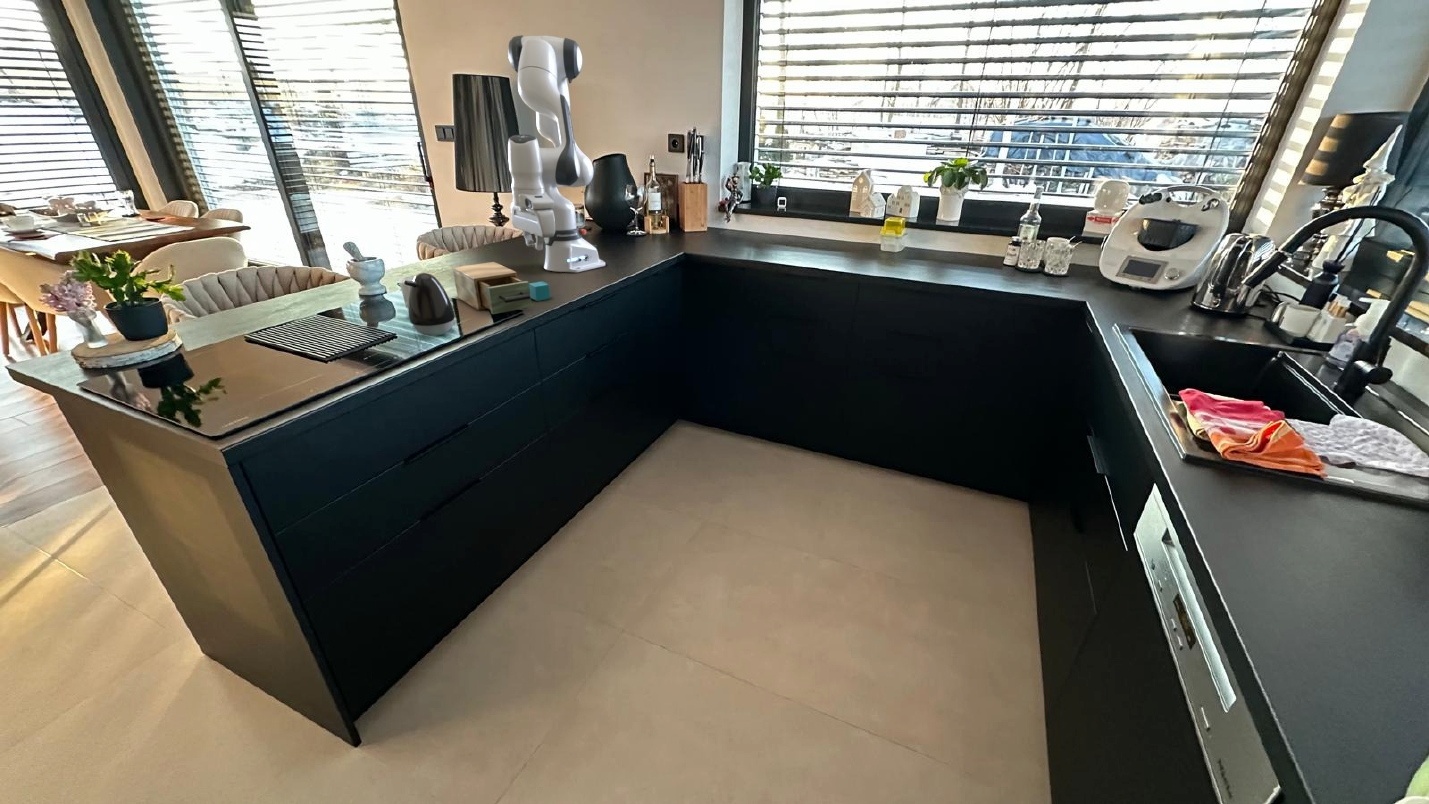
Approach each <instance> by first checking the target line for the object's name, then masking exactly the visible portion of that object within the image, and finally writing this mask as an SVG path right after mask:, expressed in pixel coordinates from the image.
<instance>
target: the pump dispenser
mask: <svg viewBox="0 0 1429 804" xmlns="http://www.w3.org/2000/svg"><path fill="white" fill-rule="evenodd" d="M404 284H405V285H408V286H411V288H410V293H409V313H408V318H409V322H410V323H411V324H412V326H413V328H414V329H415V330H416V331H417V332H418V333H419V334H421V335H423V336H427V337H436V336H442V335H445V334H447V333H448V332H449V331H451V329H452V327H453V326H454V323H455V321H454V320H455V319H456V316H455V310H454V308H453V305H452V302H451V299H450V298H449V295H448V293H447V292H446V290H445V288H444V286H443V285H442V283H441V282H440V280H439V279H438V278H437V277H436V276H435V275H433V274H432V273H429V272H420V273H418V274H416V275H415V278H414V279H413V281H407V280H405V281H404Z"/></svg>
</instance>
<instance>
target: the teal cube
mask: <svg viewBox="0 0 1429 804" xmlns="http://www.w3.org/2000/svg"><path fill="white" fill-rule="evenodd" d="M529 288H530V297H531V300H534V301H535V302H539V301H545V300H550V299H551V293H550V284H549V283H547V282H544V281H537V282H531V283H530V282H529Z"/></svg>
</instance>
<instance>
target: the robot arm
mask: <svg viewBox="0 0 1429 804" xmlns="http://www.w3.org/2000/svg"><path fill="white" fill-rule="evenodd" d="M507 55H508V60H509V61H508V62H509V63H510V66H511V68H512V70H513V71H514V72H515V73H516V74H517V89H518V95H519V96H520V98H521V100H522V101H523V103H524V104H525V105H526V106H527V107H528V108H529V109H531V110H533V111H534V112H535V119H536V120H535V121H536V123H535V124H536V129H537V131H538V133H539V135H540V136H541V137H543V138H545V139H546V140H548V141H549V142H551V143H552V144H553V147H554V148H553V147H540V145H539V141H538V138H537V137H536V136H534V135H531V134H514V135H512V136H509V138H508V142H507V143H508V144H507V156H508V157H507V158H508V168H509V169H508V171H509V173H510V176H511V193H512V202H511V203H510V220H511V225H512V227H513V228H515V229H518V230H521V231H522V236H523V238H524V240H525V246H526V247H528V248H534V249H535V250H536V251H543V250H544V244H545V256H544V257H545V258H544V264H543V268H544V269H545V270H546V271H552V272H560V273H562V272H563V273H564V272H565V273H580V272H581V273H582V272H585V271H589V270H594V269H597V268H602V267H606V262H605V261H604V260H603V259H601V258H600V256H599V251H598V245H597V244H591V243H590V242H588V240H586V239H584V238H583V236H586V235H587V229H585V228H579V227H577V217H576V215H577V214H576V207H575V205H574V204H573V202H572V201H571V200H569V199H568V198H566V197H564V196H563V195H562V194H561V193H560V191H559V189H558V187H559V188H581V187H586V186H589V185H590V183H591V182H592V180H593V178H594V173H595V172H594V165H593V163H592V161H591V159H590V158H589V157H588V156H587V155H586V154H584V152H583V151H582V150H581V149H580V148H579V146H578V145H577V142H576V141H575V135H574V128H573V120H572V118H571V117H572V116H571V100H570V91H569V85H568V84H572V82H573V80H575V79H577V77H578V76H579V75H580V73H581V69H582V67H583V55H582V51H581V49H580V45H579V44H578V42H577V41H576V40H574V39H572V38H569V37H564V38H562V37H558V36H553V35H528V36H527V35H526V36H524V35H515V36H513V37H512V38H511V39H510V40H509V42H508V49H507ZM532 235H534V238H535V241H534V239H533V236H532Z"/></svg>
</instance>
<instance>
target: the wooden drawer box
mask: <svg viewBox="0 0 1429 804" xmlns="http://www.w3.org/2000/svg"><path fill="white" fill-rule="evenodd" d="M452 272H453V273H452V274H453V279H454V284H455V289H456V294H457V295H456V296H457V298H458V299H460V300H461V301H463V302H464V303H466V304H468V305H469V306H471V307H472V308H474V309H476V310H477V311H483V310H489V309H488V308H486V307H485V306H483V305H481V304H480V298H479V292H478V285H477V281H480V280H487V279H493V278H500V277H507V276H513V277H515V278H517V279H519V278H518V272H517V271H515V270H513V269H510V268H509V267H506V266H503V265H501V264H500V263H498V262H495V261H490V262H483V263H475V264H469V265H468V264H467V265H460V266H453V267H452Z"/></svg>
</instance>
